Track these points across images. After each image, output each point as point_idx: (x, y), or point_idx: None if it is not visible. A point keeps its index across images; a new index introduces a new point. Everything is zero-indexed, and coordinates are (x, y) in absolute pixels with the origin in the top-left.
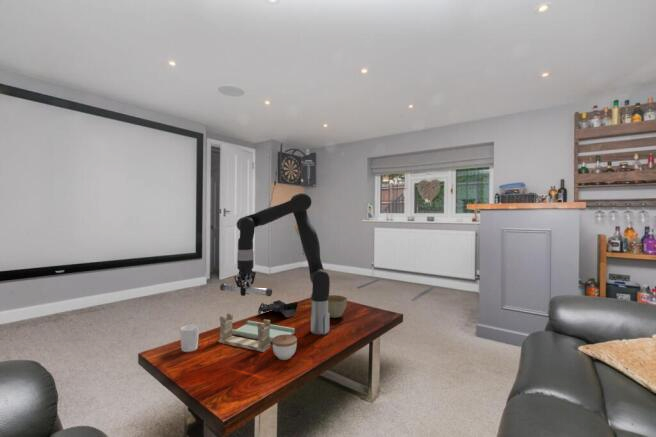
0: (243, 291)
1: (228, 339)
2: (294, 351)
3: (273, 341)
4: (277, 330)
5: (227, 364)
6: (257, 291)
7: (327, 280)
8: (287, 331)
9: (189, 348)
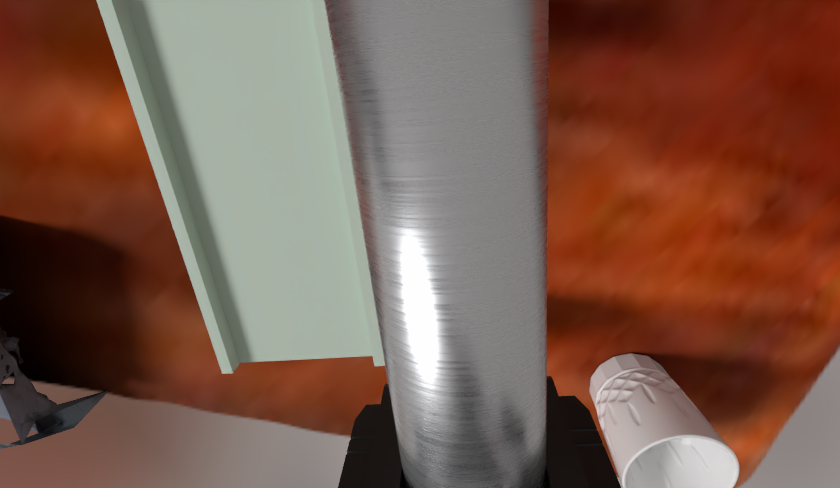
0: (584, 448)
1: None
2: None
3: None
4: (190, 131)
5: (721, 78)
6: (546, 101)
7: None
8: (154, 51)
9: (664, 371)
